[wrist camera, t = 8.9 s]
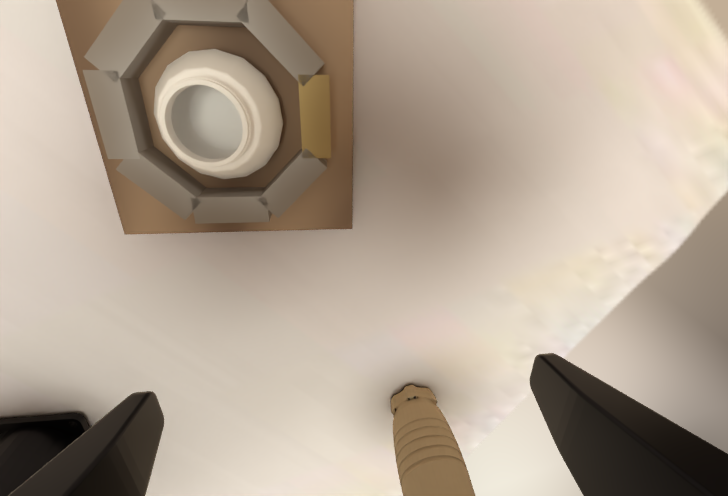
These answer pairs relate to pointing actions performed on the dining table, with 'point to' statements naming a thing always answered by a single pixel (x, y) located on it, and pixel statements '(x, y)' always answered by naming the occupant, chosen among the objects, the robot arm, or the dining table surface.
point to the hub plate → (263, 51)
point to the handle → (426, 447)
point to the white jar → (218, 113)
